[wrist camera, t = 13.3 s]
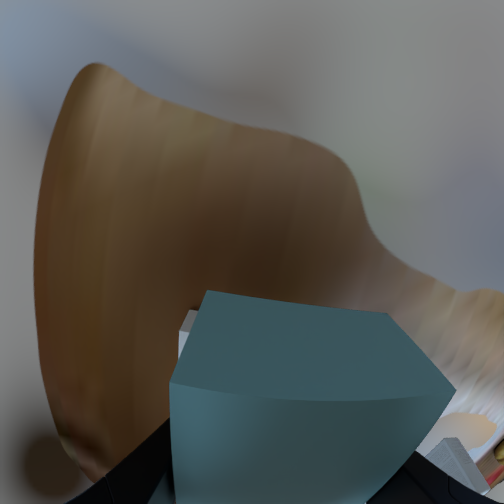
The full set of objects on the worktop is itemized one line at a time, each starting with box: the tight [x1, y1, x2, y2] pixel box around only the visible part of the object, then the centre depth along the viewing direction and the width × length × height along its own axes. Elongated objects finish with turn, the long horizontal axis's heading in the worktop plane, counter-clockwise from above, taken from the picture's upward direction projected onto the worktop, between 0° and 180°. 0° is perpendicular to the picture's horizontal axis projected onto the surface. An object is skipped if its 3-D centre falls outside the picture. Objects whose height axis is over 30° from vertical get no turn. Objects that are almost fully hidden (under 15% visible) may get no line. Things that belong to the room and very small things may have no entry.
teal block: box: [169, 290, 456, 504], centre depth 7 cm, size 6×6×4 cm
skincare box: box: [425, 438, 490, 495], centre depth 18 cm, size 6×4×12 cm
